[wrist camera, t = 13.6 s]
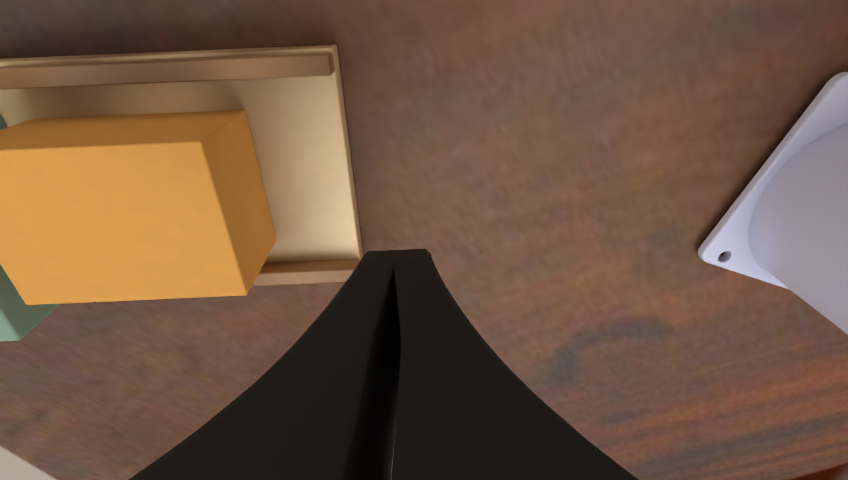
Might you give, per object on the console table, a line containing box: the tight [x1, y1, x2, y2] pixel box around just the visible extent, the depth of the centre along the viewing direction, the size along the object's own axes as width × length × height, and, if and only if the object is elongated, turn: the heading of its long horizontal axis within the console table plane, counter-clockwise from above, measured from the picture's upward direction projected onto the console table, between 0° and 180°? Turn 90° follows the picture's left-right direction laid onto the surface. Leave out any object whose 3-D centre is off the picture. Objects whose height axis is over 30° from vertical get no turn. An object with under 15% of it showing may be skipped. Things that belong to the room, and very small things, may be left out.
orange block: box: [0, 110, 276, 305], centre depth 14 cm, size 7×5×4 cm
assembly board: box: [0, 45, 363, 286], centre depth 15 cm, size 17×8×2 cm, turn 92°
